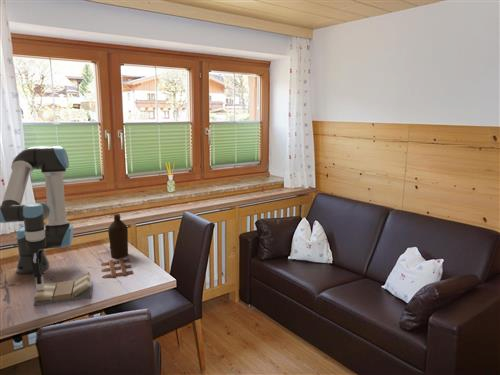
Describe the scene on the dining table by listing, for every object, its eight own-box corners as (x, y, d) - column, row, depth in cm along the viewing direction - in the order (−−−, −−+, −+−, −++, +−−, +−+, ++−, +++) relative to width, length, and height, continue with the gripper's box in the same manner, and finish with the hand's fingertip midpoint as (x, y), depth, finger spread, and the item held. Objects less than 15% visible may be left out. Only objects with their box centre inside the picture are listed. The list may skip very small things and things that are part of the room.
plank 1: (39, 287, 179) (39, 283, 179) (56, 286, 181) (56, 282, 181) (34, 301, 166) (34, 296, 166) (52, 299, 169) (52, 295, 168)
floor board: (39, 292, 179) (38, 285, 179) (92, 284, 187) (92, 278, 186) (33, 306, 166) (33, 298, 166) (91, 297, 174) (90, 290, 173)
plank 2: (77, 283, 184) (75, 280, 183) (90, 274, 185) (88, 271, 185) (75, 296, 172) (72, 292, 171) (89, 286, 173) (86, 283, 172)
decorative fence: (128, 260, 219) (100, 264, 214) (128, 257, 219) (100, 261, 213) (133, 275, 199) (102, 280, 193) (133, 272, 198) (102, 277, 193)
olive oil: (133, 253, 228) (130, 212, 223) (121, 259, 218) (118, 217, 214) (118, 251, 232) (115, 210, 227) (106, 257, 222) (102, 215, 217)
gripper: (29, 235, 173) (33, 284, 177) (22, 244, 161) (27, 297, 165) (47, 234, 175) (51, 282, 180) (42, 242, 163) (47, 294, 167)
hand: (40, 289), depth 172 cm, fingers closed
